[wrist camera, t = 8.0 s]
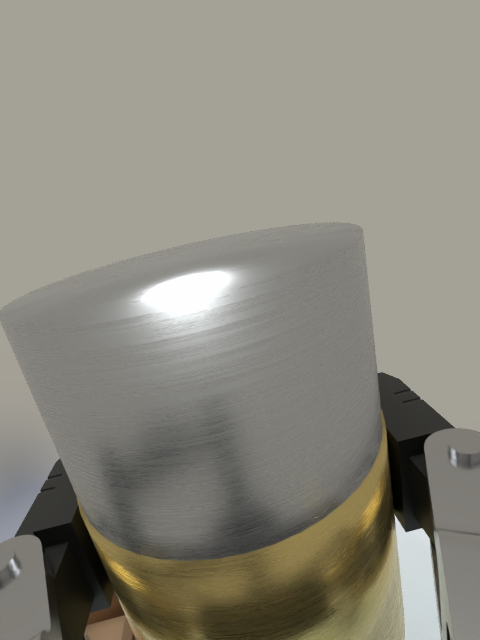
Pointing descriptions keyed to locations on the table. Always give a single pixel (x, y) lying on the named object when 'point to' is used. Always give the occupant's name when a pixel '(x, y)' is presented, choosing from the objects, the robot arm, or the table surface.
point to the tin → (225, 434)
